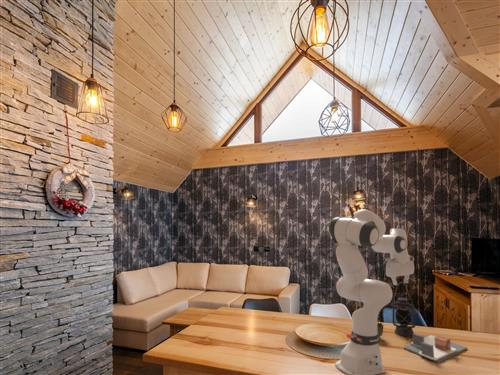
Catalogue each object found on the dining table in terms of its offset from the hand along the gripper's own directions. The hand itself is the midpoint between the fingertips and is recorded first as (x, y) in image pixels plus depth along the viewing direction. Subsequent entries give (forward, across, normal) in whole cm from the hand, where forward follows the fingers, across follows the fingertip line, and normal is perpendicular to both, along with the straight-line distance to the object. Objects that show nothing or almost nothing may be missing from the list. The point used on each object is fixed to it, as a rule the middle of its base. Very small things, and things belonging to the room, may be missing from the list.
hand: (400, 283), depth 157 cm
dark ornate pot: (+33, -3, +15) cm, 36 cm away
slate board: (+33, +11, -10) cm, 36 cm away
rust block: (+31, +11, -14) cm, 35 cm away
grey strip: (+31, +13, -5) cm, 35 cm away
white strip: (+31, +6, -14) cm, 35 cm away
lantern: (+33, +17, +11) cm, 39 cm away
